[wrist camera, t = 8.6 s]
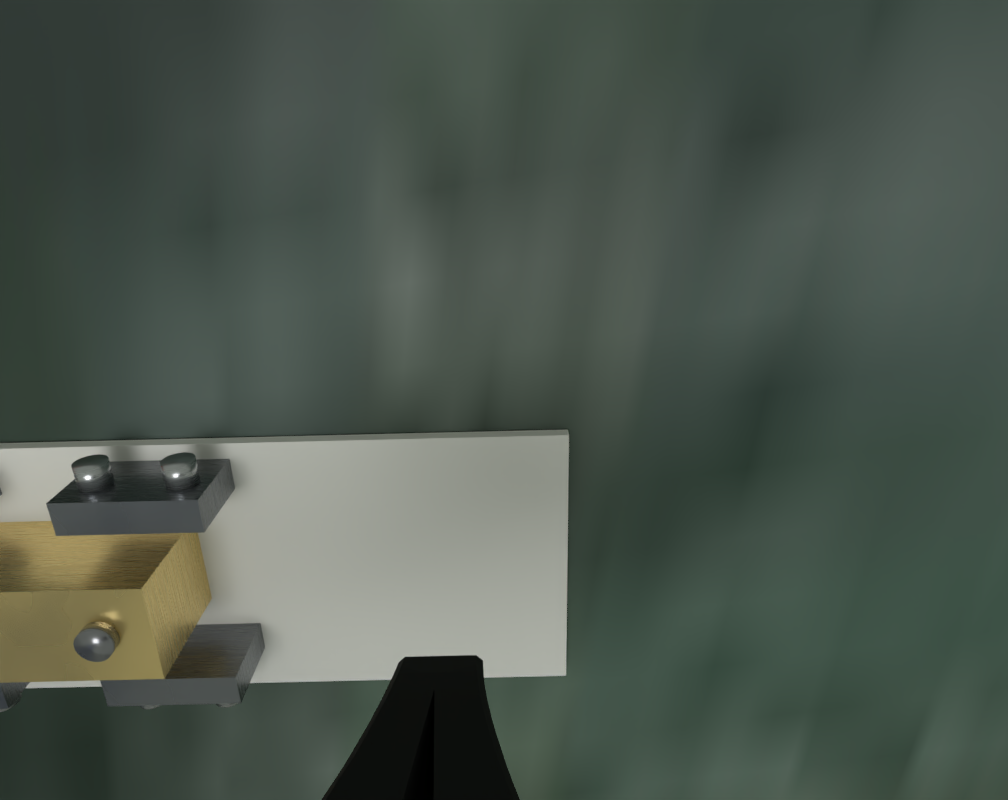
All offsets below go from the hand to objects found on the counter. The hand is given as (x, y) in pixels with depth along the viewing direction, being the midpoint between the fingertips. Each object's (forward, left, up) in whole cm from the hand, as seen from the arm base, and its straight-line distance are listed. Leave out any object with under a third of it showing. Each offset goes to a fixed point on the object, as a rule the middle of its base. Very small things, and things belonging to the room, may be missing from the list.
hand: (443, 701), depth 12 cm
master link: (-4, +12, -10) cm, 16 cm away
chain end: (-4, +9, -10) cm, 14 cm away
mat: (-4, +9, -10) cm, 14 cm away
